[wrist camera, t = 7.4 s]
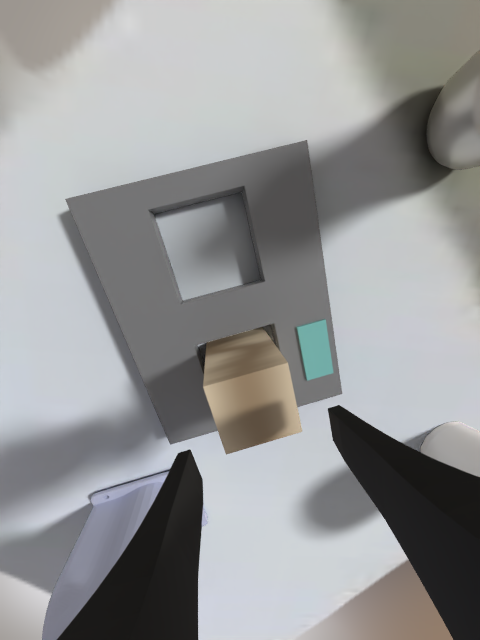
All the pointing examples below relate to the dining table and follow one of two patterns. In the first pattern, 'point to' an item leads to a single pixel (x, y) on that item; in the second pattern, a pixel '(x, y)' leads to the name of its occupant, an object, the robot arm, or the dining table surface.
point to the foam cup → (455, 446)
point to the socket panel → (223, 306)
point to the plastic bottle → (457, 119)
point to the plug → (249, 390)
